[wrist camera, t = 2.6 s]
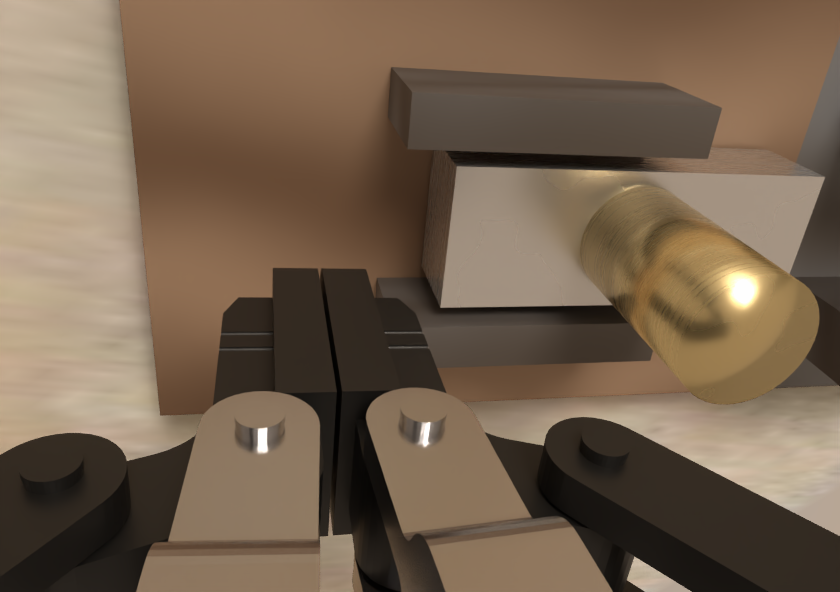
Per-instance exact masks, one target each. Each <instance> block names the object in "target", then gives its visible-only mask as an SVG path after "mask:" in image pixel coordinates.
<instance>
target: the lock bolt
mask: <svg viewBox="0 0 840 592" xmlns="http://www.w3.org/2000/svg"><path fill="white" fill-rule="evenodd" d="M824 179H825V177H824V176H822V175H820V174H818V173H816V172H814V171H812V170H810V169H807V168H805V167H803V166H801V165H799V164H797V163H795V162H792V161H790V160H788V159H786V158H784V157H782V156H780V155H778V154H775V153H773V152H771V151H769V150H767V149H744V148H718V147H711V149H710V153H709V156H708V159H684V158H654V157H624V156H594V155H564V154H535V153H505V152H475V151H445V150H433V155H432V165H431V175H430V185H429V195H428V205H427V215H426V225H425V235H424V245H423V255H422V265H421V266H422V268H423V270H424V272H425V275H426V277H427V279H428V281H429V284H430V286H431V288H432V290H433V293H434V295H435V297H436V299H437V301H438V304H439V306H440V308H455V307H520V306H586V305H613V306H614V307H615V308H616V309H617V311H618V312H619V313H620V314H621V315H622V316H623V317H624V318H625V320H626V321H627V322H628V323H629V324H630V325H631V326H632V327H633V329H634V330H635V331H636V332H637V333H638V334H639V335H640V336H641V337H642V339H643V340H644V341H645V342H646V343H647V344H648V345H649V346H650V348H651V349H652V350H653V351H654V352H655V353H656V354H657V355H658V357H659V358H660V359H661V360H662V361H663V362H664V363H665V364H666V366H667V367H668V368H669V369H670V370H671V371H672V372H673V373H674V374H675V376H676V377H677V378H678V379H679V380H680V381H681V382H682V383H683V385H684V386H685V387H686V388H687V389H688V390H689V391H690V392H691V393H692V394H693V395H694V396H696V397H697V398H699V399H701V400H703V401H706V402H709V403H714V404H735V403H740V402H745V401H748V400H751V399H754V398H756V397H758V396H761V395H763V394H765V393H767V392H768V391H770V390H772V389H773V388H775V387H776V386H778V385H779V384H781V383H782V382H783V381H784V380H786V379H787V378H788V377H789V376H790V375H791V374H792V373H793V372H794V371H795V370H796V369H797V368H798V367H799V365H800V364H801V363H802V362H803V360H804V359H805V357H806V356H807V354H808V353H809V351H810V349H811V347H812V345H813V343H814V341H815V338H816V335H817V331H818V326H819V308H818V304H817V301H816V299H815V296H814V295H813V293H812V292H811V290H810V289H809V288H808V287H807V286H806V285H805V284H803V283H802V282H800V281H799V280H797V279H796V278H794V277H793V276H792V275H790V271H791V269H792V266H793V263H794V260H795V258H796V255H797V252H798V250H799V247H800V244H801V241H802V239H803V236H804V233H805V231H806V228H807V225H808V222H809V220H810V217H811V214H812V212H813V209H814V206H815V203H816V201H817V198H818V195H819V192H820V190H821V187H822V184H823V182H824Z"/></svg>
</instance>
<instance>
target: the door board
mask: <svg viewBox="0 0 840 592" xmlns="http://www.w3.org/2000/svg"><path fill="white" fill-rule="evenodd" d="M119 2H120V12H121V22H122V32H123V42H124V52H125V63H126V73H127V83H128V93H129V103H130V113H131V123H132V133H133V143H134V154H135V164H136V174H137V184H138V194H139V204H140V214H141V224H142V234H143V245H144V255H145V265H146V275H147V285H148V295H149V305H150V315H151V325H152V336H153V346H154V356H155V366H156V376H157V386H158V396H159V406H160V416H161V415H183V414H205V412H206V411H207V410H208V409H209V408H211V407H212V406H213V399H214V390H215V381H216V372H217V363H218V354H219V345H220V336H221V327H222V318H223V313H224V312H225V311H226V310H227V309H228V308H229V307H230V306H231V305H232V304H233V303H234V301H235V300H236V299H237V298H238V297H272V273H273V268H318V271H319V278H320V271H321V268H336V269H366V271H367V274H368V277H369V281H370V284H371V288H372V291H373V295H374V298H398V299H399V300H401V301H402V302H403V303H404V304H405V305H407V306H408V307H409V308H410V309H411V310H413V311H414V312H415V313H416V315H417V318H418V320H419V323H420V326H421V328H422V334H424V336H425V338H426V341H427V344H428V349H430V351H431V354H432V357H433V359H434V362H435V364H436V367H437V370H438V372H439V375H440V377H441V380H442V382H443V385H444V388H445V390H446V393H447V394H449V395H452V396H454V397H455V398H457V399H459V400H461V401H462V402H474V401H497V400H519V399H542V398H564V397H586V396H609V395H631V394H654V393H676V392H690V391H689V390H688V389H687V388H686V387H685V386H684V385H683V383H682V382H681V381H680V380H679V379H678V378H677V377H676V376H675V374H674V373H673V372H672V371H671V370H670V369H669V368H668V367H667V366H666V364H665V363H664V362H663V361H662V360H661V359H660V358H659V357H658V355H657V354H656V353H655V352H654V351H653V350H652V349H651V348H650V346H649V345H648V344H647V343H646V342H645V341H644V340H643V339H642V337H641V336H640V335H639V334H638V333H637V332H636V331H635V330H634V329H633V327H632V326H631V325H630V324H629V323H628V322H627V321H626V320H625V318H624V317H623V316H622V315H621V314H620V313H619V312H618V311H617V309H616V308H615V307H614V306H613V305H586V306H520V307H455V308H440V306H439V304H438V301H437V299H436V297H435V295H434V293H433V290H432V288H431V286H430V284H429V281H428V279H427V277H426V275H425V272H424V270H423V268H422V266H421V265H422V255H423V245H424V235H425V225H426V215H427V205H428V195H429V185H430V175H431V165H432V155H433V150H445V151H475V152H505V153H535V154H564V155H594V156H624V157H654V158H684V159H708V156H709V153H710V149H711V147H718V148H744V149H767V150H769V151H771V152H773V153H775V154H778V155H780V156H782V157H784V158H786V159H788V160H790V161H792V162H795V163H797V164H799V165H801V166H803V167H805V168H807V169H810V170H812V171H814V172H816V173H818V174H820V175H822V176H824V177H825V179H824V182H823V184H822V187H821V190H820V192H819V195H818V198H817V201H816V203H815V206H814V209H813V212H812V214H811V217H810V220H809V222H808V225H807V228H806V231H805V233H804V236H803V239H802V241H801V244H800V247H799V250H798V252H797V255H796V258H795V260H794V263H793V266H792V269H791V271H790V275H792V276H793V277H794V278H796V279H797V280H799V281H800V282H802V283H803V284H805V285H806V286H807V287H808V288H809V289H810V290H811V292H812V293H813V295H814V296H815V299H816V301H817V304H818V308H819V326H818V331H817V335H816V338H815V341H814V343H813V345H812V347H811V349H810V351H809V353H808V354H807V356H806V357H805V359H804V360H803V362H802V363H801V364H800V365H799V367H798V368H797V369H796V370H795V371H794V372H793V373H792V374H791V375H790V376H789V377H788V378H787V379H786V380H784V381H783V382H782V383H781V384H779V385H778V386H776V387H775V388H788V387H810V386H833V385H839V386H840V0H119Z"/></svg>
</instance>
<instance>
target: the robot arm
mask: <svg viewBox="0 0 840 592" xmlns="http://www.w3.org/2000/svg"><path fill="white" fill-rule="evenodd" d="M329 511H330V513H331V522H332V531H333V535H344V534H352V535H353V543H354V550H355V554H354V565H353V577H352V583H353V589H354V592H644V591H643V590H641V589H640V588H638V587H636V586H635V585H633V584H632V583H630V582H629V581H627V577H628V574H629V571H630V568H631V565H632V562H633V559H634V556H635V557H637V558H638V559H640V560H641V561H643V562H645V563H646V564H648V565H650V566H651V567H653V568H654V569H656V570H658V571H659V572H661V573H663V574H664V575H666V576H667V577H669V578H671V579H672V580H674V581H676V582H677V583H679V584H680V585H682V586H684V587H685V588H687V589H689V590H690V591H692V592H840V536H838V535H836V534H834V533H832V532H830V531H828V530H826V529H825V528H822V527H821V526H819V525H817V524H814V523H813V522H811V521H809V520H807V519H805V518H803V517H801V516H799V515H797V514H795V513H793V512H791V511H789V510H787V509H785V508H783V507H781V506H779V505H777V504H775V503H774V502H772V501H770V500H768V499H766V498H764V497H762V496H760V495H758V494H756V493H754V492H752V491H750V490H748V489H746V488H744V487H742V486H740V485H738V484H736V483H734V482H732V481H730V480H728V479H726V478H724V477H723V476H721V475H719V474H717V473H715V472H713V471H711V470H709V469H707V468H705V467H703V466H701V465H699V464H697V463H695V462H693V461H691V460H689V459H687V458H685V457H683V456H681V455H679V454H677V453H675V452H673V451H671V450H670V449H668V448H666V447H664V446H662V445H660V444H658V443H656V442H654V441H652V440H650V439H648V438H646V437H644V436H642V435H640V434H638V433H636V432H634V431H632V430H630V429H628V428H626V427H624V426H622V425H619V424H617V423H614V422H611V421H607V420H603V419H597V418H589V417H578V418H570V419H566V420H563V421H560V422H558V423H557V424H555V425H553V426H552V427H551V428H550V429H549V431H548V433H547V435H546V438H545V443H544V446H542V445H536V444H531V443H525V442H520V441H514V440H509V439H504V438H500V437H496V436H493V435H490V434H488V433H485V432H484V430H483V428H482V427H481V425H480V423H479V421H478V419H477V417H476V416H475V414H474V413H473V411H472V410H471V409H470V408H469V407H468V406H467V405H466V404H465V403H463V402H462V401H461V400H459V399H457V398H455V397H454V396H452V395H449V394H447V393H446V390H445V388H444V385H443V382H442V380H441V377H440V375H439V372H438V370H437V367H436V364H435V362H434V359H433V357H432V354H431V351H430V349H428V344H427V341H426V338H425V336H424V334H422V328H421V326H420V323H419V320H418V318H417V315H416V313H415V312H414V311H413V310H411V309H410V308H409V307H408V306H407V305H405V304H404V303H403V302H402V301H401V300H399V299H398V298H374V295H373V291H372V288H371V284H370V281H369V277H368V274H367V271H366V269H336V268H321V271H320V278H319V271H318V268H273V273H272V297H238V298H237V299H236V300H235V301H234V303H233V304H232V305H231V306H230V307H229V308H228V309H227V310H226V311H225V312H224V313H223V318H222V327H221V336H220V345H219V354H218V363H217V372H216V381H215V390H214V399H213V406H212V407H211V408H209V409H208V410H207V411H206V412H205V414H204V415H203V416H202V418H201V420H200V423H199V425H198V429H197V433H196V435H195V436H194V437H192V438H191V439H190V440H188V441H187V442H185V443H183V444H181V445H179V446H177V447H175V448H172V449H170V450H167V451H164V452H161V453H158V454H154V455H150V456H146V457H142V458H138V459H134V460H130V461H126V457H125V455H124V453H123V451H122V450H121V449H120V448H119V447H118V446H117V445H116V444H115V443H113V442H111V441H110V440H108V439H105V438H102V437H100V436H95V435H91V434H83V433H65V434H55V435H50V436H45V437H41V438H37V439H34V440H31V441H28V442H26V443H23V444H20V445H18V446H16V447H14V448H12V449H10V450H8V451H6V452H5V453H3V454H1V455H0V592H320V536H328V528H329Z"/></svg>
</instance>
